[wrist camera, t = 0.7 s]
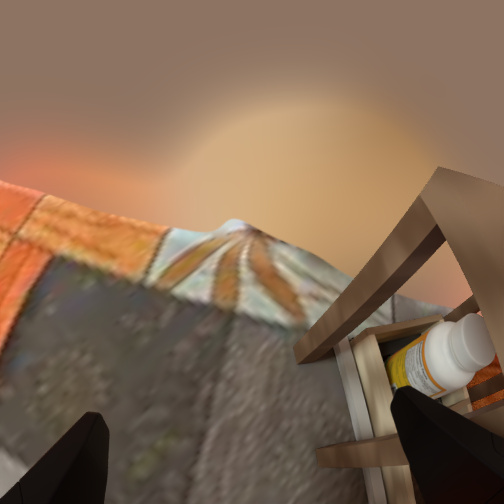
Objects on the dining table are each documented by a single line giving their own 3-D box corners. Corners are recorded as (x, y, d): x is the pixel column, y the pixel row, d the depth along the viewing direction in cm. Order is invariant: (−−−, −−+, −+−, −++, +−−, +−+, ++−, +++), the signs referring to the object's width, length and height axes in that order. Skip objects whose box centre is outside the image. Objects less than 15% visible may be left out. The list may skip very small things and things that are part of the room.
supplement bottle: (422, 357, 25) (494, 310, 17) (423, 411, 22) (505, 376, 14) (377, 350, 25) (450, 296, 17) (376, 408, 21) (460, 373, 14)
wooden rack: (465, 501, 15) (493, 498, 13) (393, 547, 13) (421, 553, 10) (422, 327, 27) (445, 310, 24) (348, 342, 24) (370, 324, 21)
